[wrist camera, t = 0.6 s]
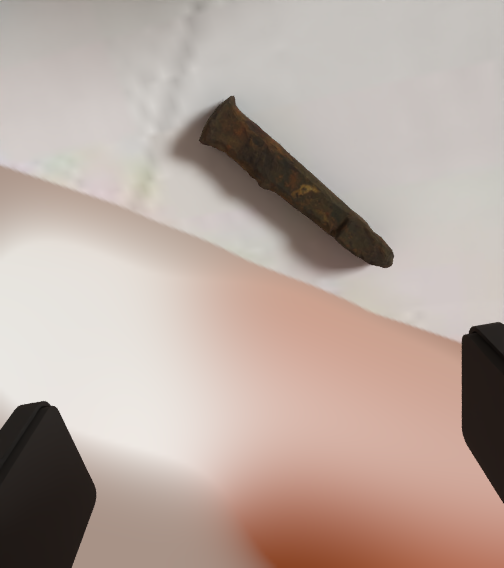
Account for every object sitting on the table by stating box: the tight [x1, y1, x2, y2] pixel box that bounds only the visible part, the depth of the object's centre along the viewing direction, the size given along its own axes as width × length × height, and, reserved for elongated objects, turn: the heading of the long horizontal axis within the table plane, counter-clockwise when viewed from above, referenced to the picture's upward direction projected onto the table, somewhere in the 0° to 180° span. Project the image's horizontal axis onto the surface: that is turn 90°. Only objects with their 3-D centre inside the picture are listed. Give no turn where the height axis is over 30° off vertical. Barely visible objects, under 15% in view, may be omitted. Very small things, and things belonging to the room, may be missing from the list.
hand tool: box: [199, 96, 394, 268], centre depth 34 cm, size 19×4×5 cm, turn 49°
